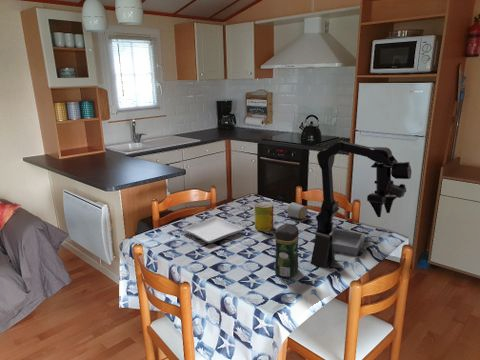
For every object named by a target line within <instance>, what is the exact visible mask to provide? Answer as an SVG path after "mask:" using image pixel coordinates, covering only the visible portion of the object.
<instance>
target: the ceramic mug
mask: <svg viewBox="0 0 480 360" xmlns="http://www.w3.org/2000/svg"><path fill="white" fill-rule="evenodd" d="M286 212H287V213H286V214H287V215H288V217H290V218H295V219H298V220H303V219H305V218H306V217H307V215H308V210H307V207H306V206H305V205H302V204H299V203H297V202H291V203H289V205H288V206H287V211H286Z"/></svg>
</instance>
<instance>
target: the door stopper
mask: <svg viewBox="0 0 480 360" xmlns="http://www.w3.org/2000/svg"><path fill="white" fill-rule="evenodd" d="M314 238H315V239H314V244H313V245H314V246H313V250H312V255H311V260H310V264H312V265H313V266H317V267H320V268H324V269H325V268H326V267H328V266H329V265H330V264H332V263H333V262H335V260H336V257H335V251H334V250H333V243H332V239H333V237H332V235H328V234H324V233H321V232H318V233H317V232H316V233H315V236H314Z"/></svg>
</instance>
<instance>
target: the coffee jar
mask: <svg viewBox="0 0 480 360" xmlns="http://www.w3.org/2000/svg"><path fill="white" fill-rule="evenodd" d="M274 235H275V236H274V241H275V262H274V263H275V266H274V267H275V268H274V273H275V274H276V275H277V276H278V277H281V278H292V277H294V276H295V275H296V274H297V272H298V270H299V227H297V225H296V224H292V223H284V224H281V225H280V226H278V227H277V229H275V232H274Z"/></svg>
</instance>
